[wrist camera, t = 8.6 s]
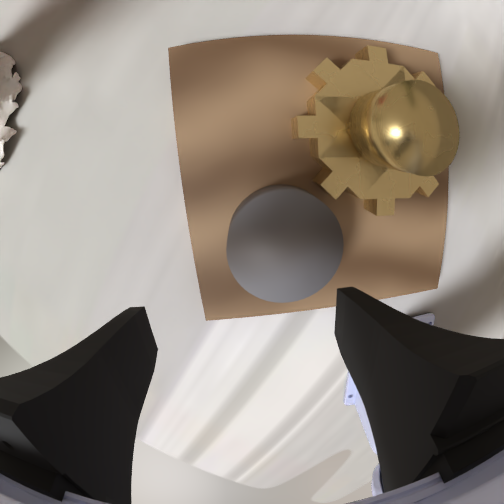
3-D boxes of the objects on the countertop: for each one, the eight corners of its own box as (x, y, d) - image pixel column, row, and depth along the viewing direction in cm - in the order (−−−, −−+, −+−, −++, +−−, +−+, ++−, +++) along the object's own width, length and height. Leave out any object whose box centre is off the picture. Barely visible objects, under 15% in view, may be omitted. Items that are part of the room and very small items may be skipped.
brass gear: (432, 206, 18) (488, 231, 12) (296, 212, 18) (321, 244, 12) (427, 66, 14) (483, 51, 9) (284, 50, 14) (304, 9, 9)
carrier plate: (429, 281, 21) (454, 303, 18) (207, 311, 21) (202, 342, 18) (428, 56, 15) (458, 46, 11) (172, 53, 15) (157, 34, 11)
